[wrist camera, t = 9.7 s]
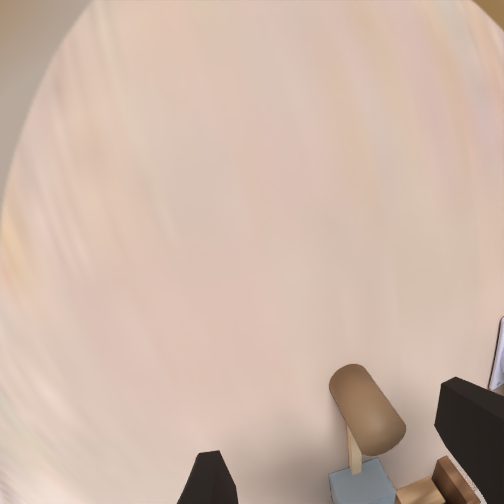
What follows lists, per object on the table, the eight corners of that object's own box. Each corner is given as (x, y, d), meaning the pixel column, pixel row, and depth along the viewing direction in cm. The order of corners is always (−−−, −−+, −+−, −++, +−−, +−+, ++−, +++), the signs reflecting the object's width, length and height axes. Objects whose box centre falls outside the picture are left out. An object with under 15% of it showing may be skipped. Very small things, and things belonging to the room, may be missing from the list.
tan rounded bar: (378, 354, 20) (421, 406, 14) (375, 482, 23) (397, 525, 18) (314, 375, 20) (343, 436, 14) (331, 497, 23) (348, 543, 17)
